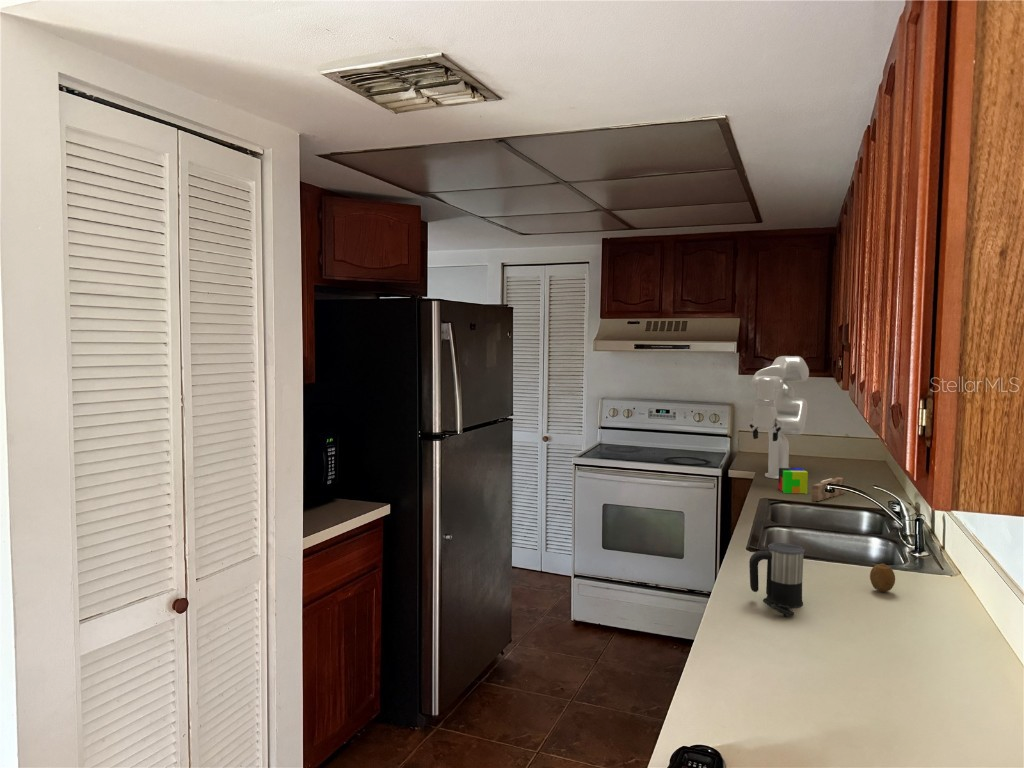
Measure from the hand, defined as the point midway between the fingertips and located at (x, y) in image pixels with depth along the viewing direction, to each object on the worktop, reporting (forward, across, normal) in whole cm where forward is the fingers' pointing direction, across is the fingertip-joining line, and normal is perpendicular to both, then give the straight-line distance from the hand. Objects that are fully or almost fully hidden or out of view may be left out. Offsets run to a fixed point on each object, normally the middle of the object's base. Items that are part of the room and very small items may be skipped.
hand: (765, 439), depth 335 cm
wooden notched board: (+22, +30, 0) cm, 38 cm away
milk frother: (+21, +78, -138) cm, 159 cm away
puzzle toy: (+23, +14, 0) cm, 27 cm away
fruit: (+21, +91, -107) cm, 142 cm away
